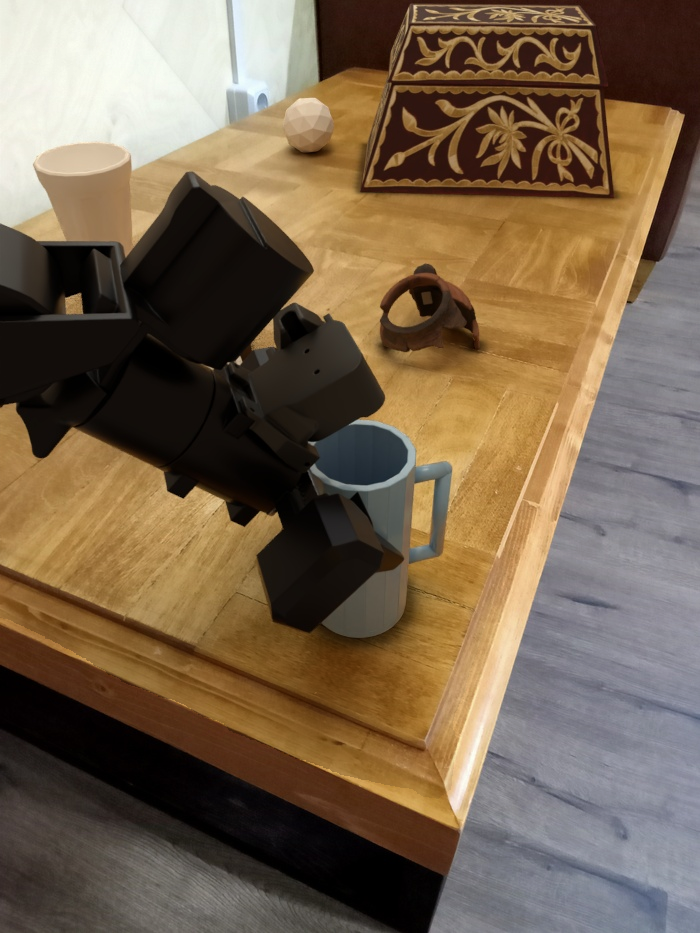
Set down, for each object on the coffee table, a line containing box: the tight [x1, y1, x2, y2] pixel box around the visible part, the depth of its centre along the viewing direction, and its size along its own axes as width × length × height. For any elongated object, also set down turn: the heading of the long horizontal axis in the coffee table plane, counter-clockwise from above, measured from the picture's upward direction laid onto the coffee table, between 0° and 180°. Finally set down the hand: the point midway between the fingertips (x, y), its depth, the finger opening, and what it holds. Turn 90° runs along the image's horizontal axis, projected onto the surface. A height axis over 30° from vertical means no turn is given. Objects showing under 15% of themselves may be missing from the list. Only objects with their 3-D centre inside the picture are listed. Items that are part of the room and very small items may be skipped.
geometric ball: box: [282, 97, 335, 153], centre depth 119 cm, size 8×8×8 cm
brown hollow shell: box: [379, 263, 481, 353], centre depth 77 cm, size 12×10×8 cm
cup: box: [32, 141, 134, 257], centre depth 86 cm, size 10×10×13 cm
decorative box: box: [359, 2, 615, 199], centre depth 108 cm, size 35×19×20 cm, turn 86°
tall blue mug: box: [308, 419, 453, 639], centre depth 49 cm, size 9×6×13 cm
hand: (380, 525), depth 49 cm, fingers closed on tall blue mug, 6 cm apart
